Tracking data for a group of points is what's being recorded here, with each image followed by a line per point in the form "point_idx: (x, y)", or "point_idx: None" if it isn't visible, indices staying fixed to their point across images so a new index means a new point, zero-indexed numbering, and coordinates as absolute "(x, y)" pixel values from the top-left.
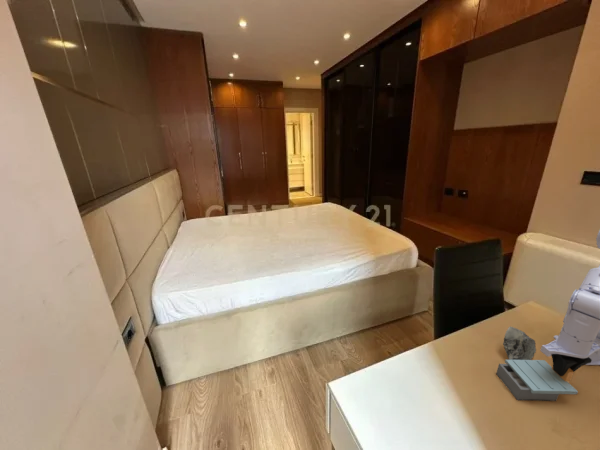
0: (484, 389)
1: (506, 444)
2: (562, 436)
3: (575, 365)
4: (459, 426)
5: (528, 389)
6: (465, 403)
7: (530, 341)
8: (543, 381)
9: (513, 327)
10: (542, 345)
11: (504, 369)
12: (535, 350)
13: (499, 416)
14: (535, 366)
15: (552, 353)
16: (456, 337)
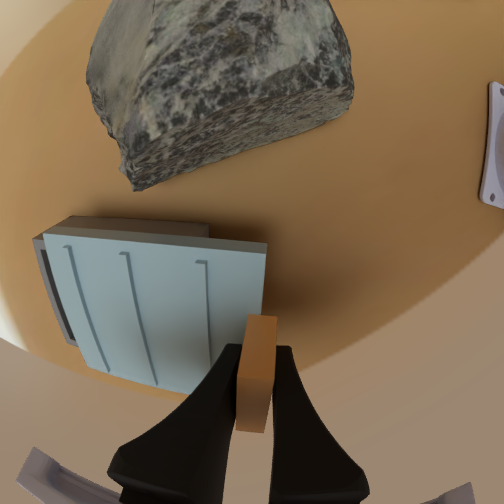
0: (32, 269)
1: (53, 363)
2: (152, 387)
3: (272, 460)
4: (4, 323)
5: None
6: (6, 293)
7: (253, 108)
8: (141, 357)
9: None
10: (17, 481)
11: (40, 268)
12: (342, 111)
13: (49, 330)
14: (157, 292)
15: (89, 485)
16: (41, 32)
